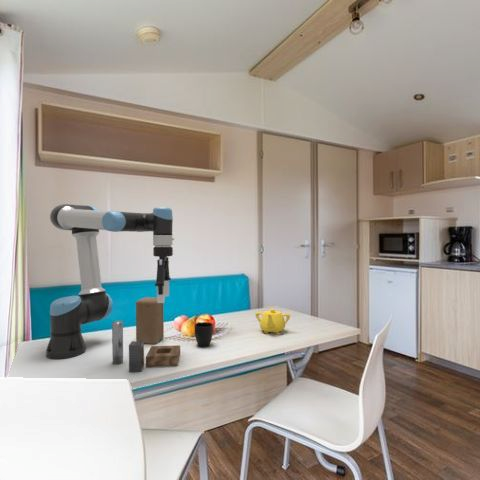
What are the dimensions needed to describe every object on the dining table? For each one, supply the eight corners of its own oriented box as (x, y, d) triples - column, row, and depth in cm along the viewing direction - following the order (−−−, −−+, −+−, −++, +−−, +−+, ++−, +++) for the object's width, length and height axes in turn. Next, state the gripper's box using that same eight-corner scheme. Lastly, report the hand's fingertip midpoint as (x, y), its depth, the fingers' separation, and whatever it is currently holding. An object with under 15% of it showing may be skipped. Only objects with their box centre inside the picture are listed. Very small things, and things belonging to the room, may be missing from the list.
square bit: (129, 372, 124) (128, 345, 124) (131, 367, 128) (131, 341, 128) (141, 371, 124) (141, 345, 124) (143, 367, 129) (143, 341, 129)
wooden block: (155, 344, 154) (154, 301, 154) (135, 343, 156) (134, 300, 156) (164, 338, 164) (164, 297, 164) (145, 337, 166) (145, 296, 166)
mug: (207, 339, 162) (207, 319, 162) (215, 346, 151) (215, 325, 151) (190, 341, 159) (190, 321, 159) (197, 349, 148) (197, 327, 148)
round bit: (111, 364, 131) (110, 323, 131) (114, 360, 135) (113, 321, 135) (121, 364, 132) (121, 323, 131) (124, 360, 136) (123, 320, 135)
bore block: (145, 367, 129) (145, 356, 129) (151, 355, 141) (151, 346, 140) (177, 365, 130) (177, 355, 130) (180, 354, 142) (180, 345, 141)
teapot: (252, 331, 176) (252, 308, 176) (274, 326, 183) (274, 305, 183) (269, 337, 164) (269, 313, 164) (291, 333, 172) (291, 310, 172)
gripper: (168, 247, 122) (169, 305, 122) (175, 245, 147) (176, 293, 147) (147, 247, 121) (148, 306, 122) (158, 245, 146) (158, 293, 147)
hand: (163, 299), depth 135 cm, fingers open, 13 cm apart
